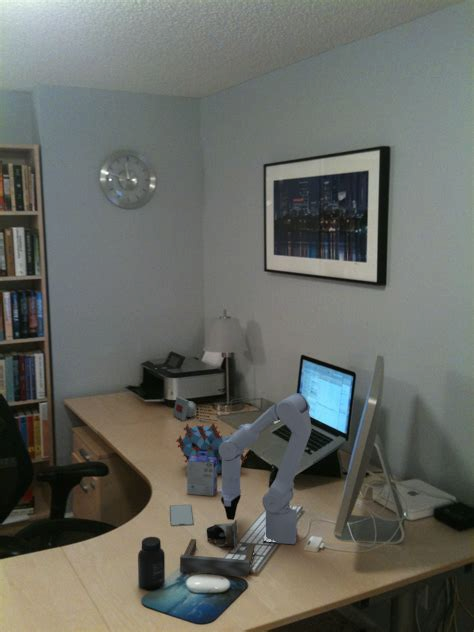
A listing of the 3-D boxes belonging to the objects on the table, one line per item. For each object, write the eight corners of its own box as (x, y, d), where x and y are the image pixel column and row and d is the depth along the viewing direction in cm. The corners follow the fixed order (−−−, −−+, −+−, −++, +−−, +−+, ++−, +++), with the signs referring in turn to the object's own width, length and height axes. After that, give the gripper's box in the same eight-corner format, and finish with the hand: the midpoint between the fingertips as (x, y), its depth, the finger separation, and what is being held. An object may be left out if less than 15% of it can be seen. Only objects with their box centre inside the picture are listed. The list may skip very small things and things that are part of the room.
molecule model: (245, 440, 256) (192, 410, 250) (253, 452, 242) (196, 420, 236) (224, 475, 256) (170, 446, 250) (230, 489, 242) (173, 458, 236)
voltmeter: (167, 419, 312) (167, 399, 311) (178, 413, 322) (178, 394, 321) (217, 426, 302) (217, 406, 300) (227, 420, 312) (227, 400, 311)
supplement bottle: (165, 577, 171) (165, 534, 170) (163, 591, 164) (163, 547, 163) (140, 577, 171) (139, 534, 169) (136, 591, 164) (136, 547, 163)
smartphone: (191, 504, 216) (194, 524, 201) (191, 506, 216) (194, 526, 201) (169, 505, 215) (170, 525, 200) (169, 507, 215) (170, 527, 200)
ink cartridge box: (217, 490, 228) (218, 451, 226) (214, 496, 223) (214, 456, 221) (190, 488, 230) (190, 449, 228) (186, 494, 225) (186, 454, 223)
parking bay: (254, 552, 185) (254, 538, 184) (248, 577, 172) (248, 562, 171) (191, 547, 187) (191, 534, 187) (180, 571, 174) (180, 557, 174)
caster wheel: (211, 540, 197) (243, 538, 195) (202, 550, 186) (236, 548, 184) (209, 518, 198) (240, 515, 196) (200, 527, 187) (234, 524, 185)
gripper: (222, 467, 206) (222, 507, 208) (213, 485, 192) (213, 528, 194) (244, 468, 205) (244, 509, 207) (237, 486, 191) (237, 530, 193)
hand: (230, 518), depth 200 cm, fingers closed
